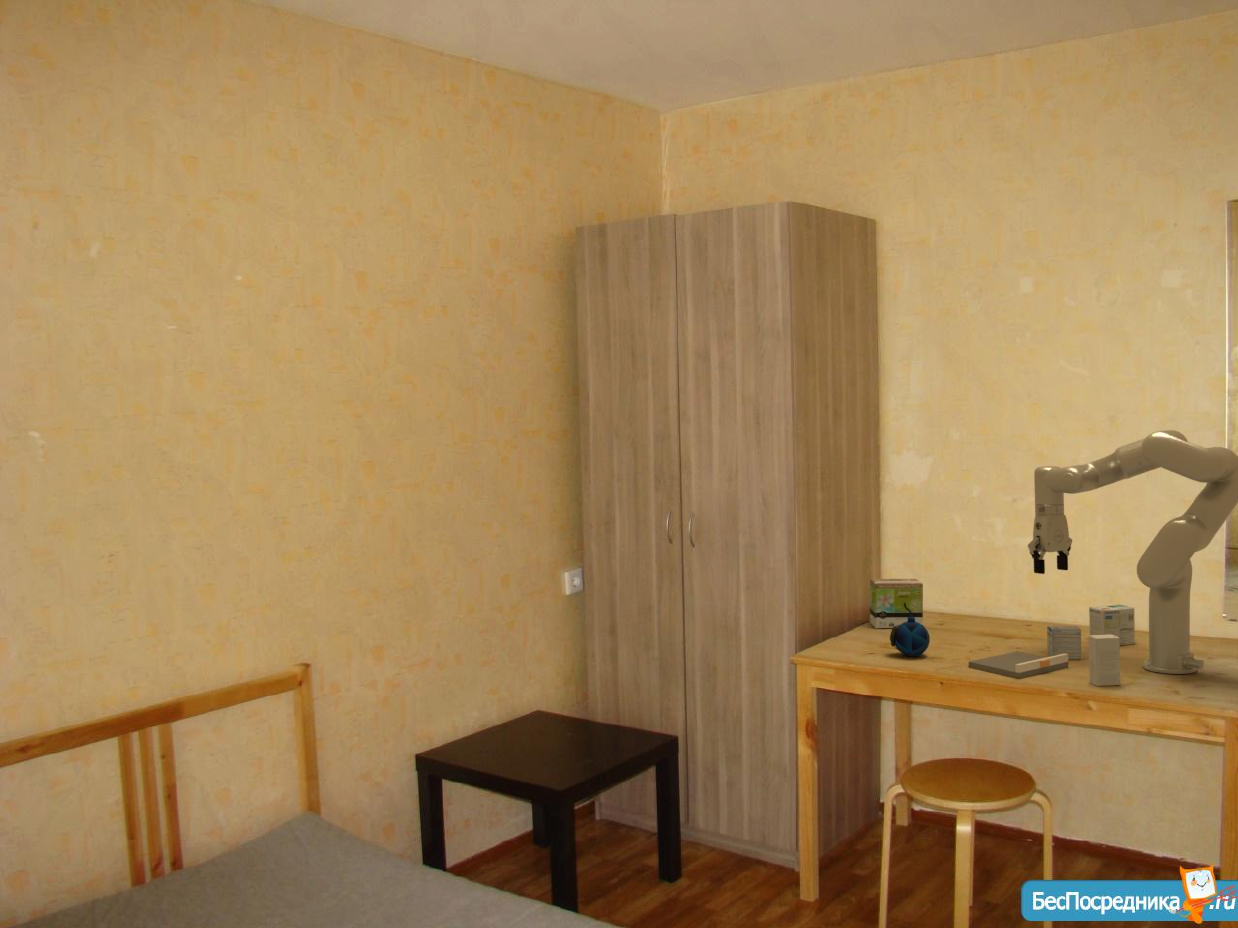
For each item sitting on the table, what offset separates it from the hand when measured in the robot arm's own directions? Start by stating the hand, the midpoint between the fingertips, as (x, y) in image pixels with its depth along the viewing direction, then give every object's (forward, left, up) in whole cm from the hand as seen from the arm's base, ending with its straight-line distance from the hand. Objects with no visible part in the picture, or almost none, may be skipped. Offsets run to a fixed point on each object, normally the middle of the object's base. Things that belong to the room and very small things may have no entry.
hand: (1051, 571), depth 303 cm
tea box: (+54, +5, -23) cm, 59 cm away
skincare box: (-29, +19, -23) cm, 42 cm away
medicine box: (-6, +3, -23) cm, 24 cm away
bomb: (+22, +33, -23) cm, 46 cm away
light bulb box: (-3, -23, -23) cm, 33 cm away
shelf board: (-5, +21, -23) cm, 31 cm away
